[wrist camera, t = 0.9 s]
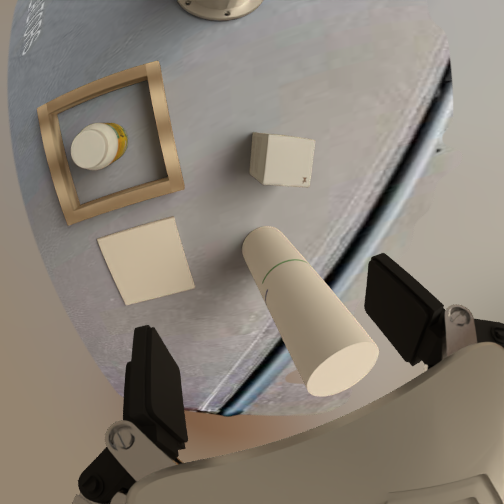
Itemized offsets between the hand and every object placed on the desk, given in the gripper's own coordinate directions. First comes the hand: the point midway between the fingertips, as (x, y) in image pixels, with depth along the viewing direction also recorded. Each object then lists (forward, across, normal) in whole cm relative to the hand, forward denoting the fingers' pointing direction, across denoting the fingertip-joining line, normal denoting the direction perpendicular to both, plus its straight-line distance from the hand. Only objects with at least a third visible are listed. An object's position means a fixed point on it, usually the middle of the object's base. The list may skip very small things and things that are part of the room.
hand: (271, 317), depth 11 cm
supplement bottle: (+29, +12, -8) cm, 32 cm away
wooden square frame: (+29, +12, -8) cm, 32 cm away
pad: (+28, +12, +11) cm, 32 cm away
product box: (+29, -9, 0) cm, 30 cm away
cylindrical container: (+28, -6, +14) cm, 32 cm away
